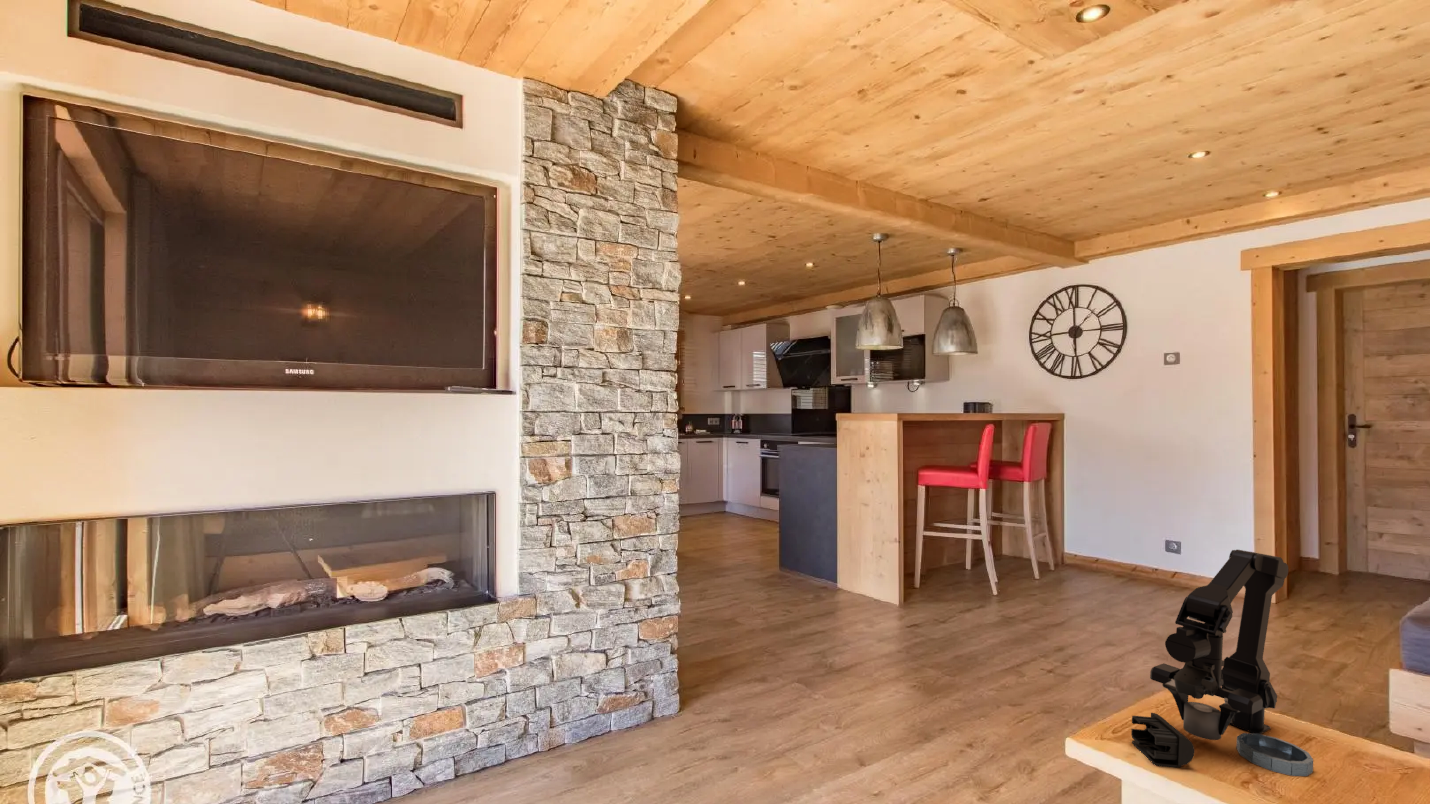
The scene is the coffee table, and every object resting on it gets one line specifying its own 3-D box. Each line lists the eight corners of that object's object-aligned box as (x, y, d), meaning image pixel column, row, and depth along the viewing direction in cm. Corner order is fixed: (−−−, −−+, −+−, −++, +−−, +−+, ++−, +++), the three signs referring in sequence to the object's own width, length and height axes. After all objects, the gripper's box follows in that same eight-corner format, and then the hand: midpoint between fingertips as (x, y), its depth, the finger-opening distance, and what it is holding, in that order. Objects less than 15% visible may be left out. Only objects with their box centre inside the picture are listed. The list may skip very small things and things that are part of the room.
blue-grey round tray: (1251, 739, 142) (1251, 728, 142) (1320, 766, 132) (1321, 754, 132) (1227, 752, 136) (1227, 741, 136) (1298, 781, 126) (1299, 769, 126)
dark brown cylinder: (1191, 721, 143) (1192, 698, 143) (1226, 735, 138) (1227, 711, 138) (1177, 728, 140) (1178, 704, 140) (1212, 742, 135) (1213, 717, 135)
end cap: (1194, 771, 129) (1195, 737, 129) (1156, 767, 129) (1157, 733, 129) (1165, 744, 139) (1166, 713, 139) (1129, 741, 139) (1131, 710, 139)
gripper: (1138, 645, 143) (1135, 716, 143) (1241, 678, 127) (1238, 757, 127) (1164, 637, 149) (1161, 705, 149) (1265, 668, 133) (1262, 744, 133)
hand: (1202, 726), depth 139 cm, fingers closed on dark brown cylinder, 6 cm apart
